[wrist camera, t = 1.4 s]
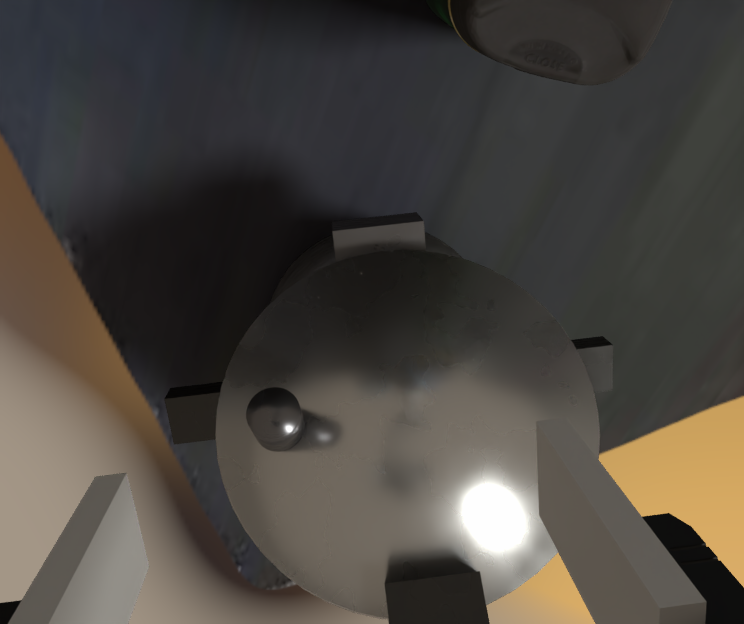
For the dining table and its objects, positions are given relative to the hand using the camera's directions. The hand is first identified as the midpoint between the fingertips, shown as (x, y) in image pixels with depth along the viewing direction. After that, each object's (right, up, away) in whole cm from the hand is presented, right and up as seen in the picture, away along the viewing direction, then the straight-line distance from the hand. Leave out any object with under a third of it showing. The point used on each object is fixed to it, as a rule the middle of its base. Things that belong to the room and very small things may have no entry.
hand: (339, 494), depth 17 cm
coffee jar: (+9, +27, +27) cm, 39 cm away
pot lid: (+3, -2, +16) cm, 16 cm away
